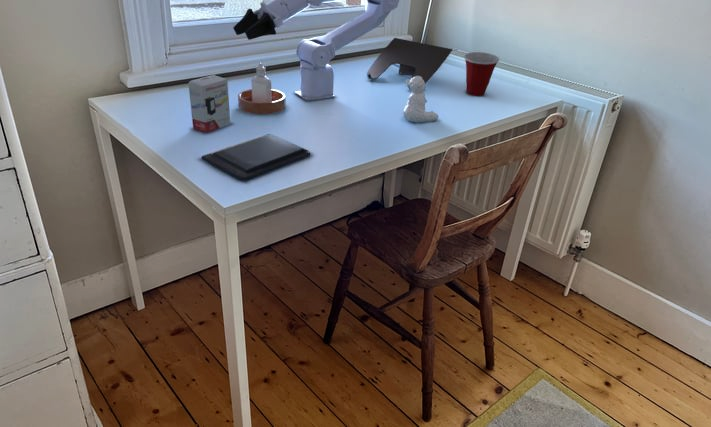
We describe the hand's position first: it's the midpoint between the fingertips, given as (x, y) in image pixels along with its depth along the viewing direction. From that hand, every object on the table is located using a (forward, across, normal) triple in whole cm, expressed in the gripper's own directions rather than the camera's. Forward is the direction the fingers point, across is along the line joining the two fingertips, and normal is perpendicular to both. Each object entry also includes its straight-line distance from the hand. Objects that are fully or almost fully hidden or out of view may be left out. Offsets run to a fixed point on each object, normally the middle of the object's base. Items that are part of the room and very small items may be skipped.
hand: (240, 33), depth 132 cm
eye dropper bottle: (+4, +2, +19) cm, 20 cm away
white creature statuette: (-26, +28, +35) cm, 52 cm away
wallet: (+19, +32, +15) cm, 40 cm away
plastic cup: (-57, +18, +48) cm, 77 cm away
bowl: (+5, +2, +20) cm, 20 cm away
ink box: (+20, +10, +13) cm, 26 cm away
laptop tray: (-46, -3, +42) cm, 62 cm away
